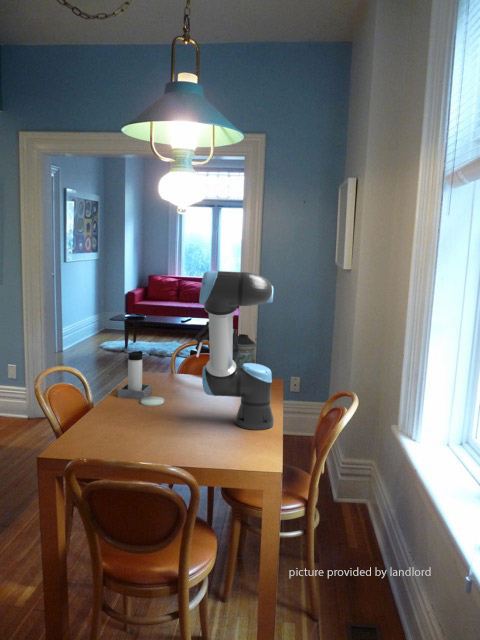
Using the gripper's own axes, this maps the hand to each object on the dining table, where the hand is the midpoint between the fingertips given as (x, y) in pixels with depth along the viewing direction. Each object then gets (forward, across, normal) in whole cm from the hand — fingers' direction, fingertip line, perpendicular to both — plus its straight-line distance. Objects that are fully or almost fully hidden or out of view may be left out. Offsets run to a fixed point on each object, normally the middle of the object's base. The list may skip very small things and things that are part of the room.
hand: (211, 361), depth 222 cm
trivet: (+24, +20, +3) cm, 31 cm away
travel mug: (+25, +30, -7) cm, 40 cm away
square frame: (+25, +30, -7) cm, 40 cm away
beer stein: (+10, -14, -36) cm, 40 cm away
